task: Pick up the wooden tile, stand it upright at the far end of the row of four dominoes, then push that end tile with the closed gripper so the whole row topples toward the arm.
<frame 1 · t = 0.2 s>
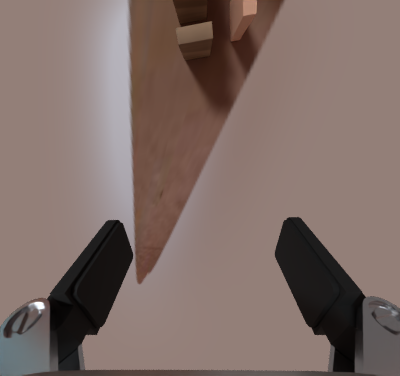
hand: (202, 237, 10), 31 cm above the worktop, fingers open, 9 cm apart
end tile: (234, 23, 27), on the worktop
domino 3: (192, 15, 27), on the worktop
domino 2: (196, 52, 29), on the worktop
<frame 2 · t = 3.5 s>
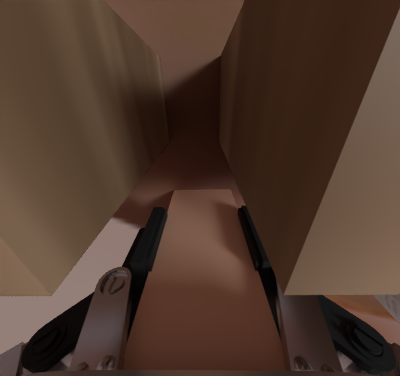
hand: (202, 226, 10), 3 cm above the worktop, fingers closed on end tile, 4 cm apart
end tile: (202, 197, 13), on the worktop, touching gripper
domino 3: (232, 102, 10), on the worktop
domino 2: (152, 104, 10), on the worktop
skincare box: (376, 259, 17), on the worktop
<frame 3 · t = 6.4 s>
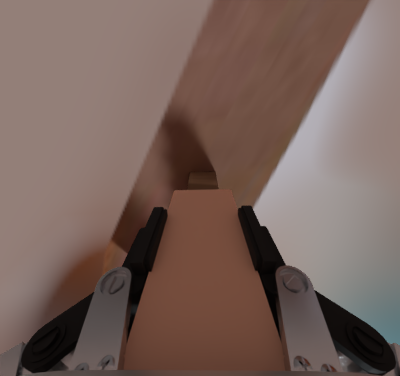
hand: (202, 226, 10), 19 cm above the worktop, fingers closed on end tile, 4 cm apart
end tile: (202, 198, 13), point 16 cm above the worktop, touching gripper
domino 2: (202, 175, 29), on the worktop
when the fingers open (4 cm above the worktop, at t = 9.3 s): end tile stays where it is, on the worktop.
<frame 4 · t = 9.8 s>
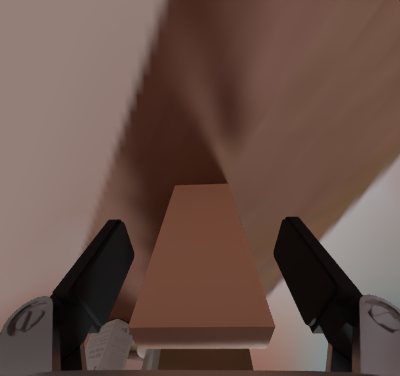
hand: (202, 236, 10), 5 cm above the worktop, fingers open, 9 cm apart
end tile: (201, 192, 14), on the worktop
domino 2: (203, 233, 17), on the worktop
skincare box: (116, 325, 27), on the worktop
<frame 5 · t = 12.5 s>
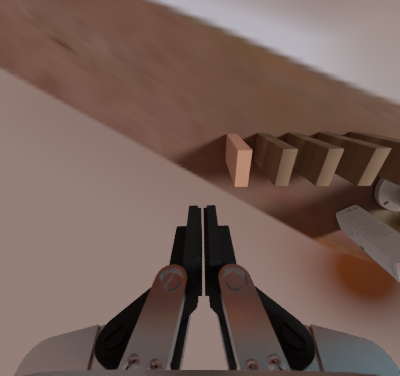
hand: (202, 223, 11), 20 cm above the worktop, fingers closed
end tile: (230, 147, 28), on the worktop
domino 3: (289, 146, 27), on the worktop
domino 5: (349, 146, 27), on the worktop
domino 2: (259, 146, 28), on the worktop
domino 4: (319, 146, 27), on the worktop
skincare box: (348, 216, 34), on the worktop
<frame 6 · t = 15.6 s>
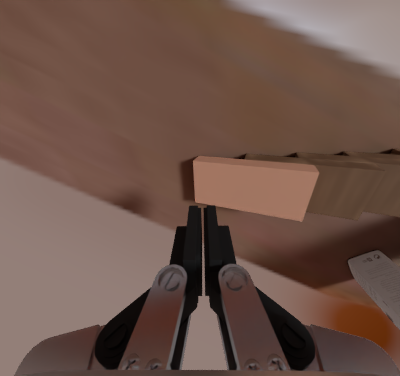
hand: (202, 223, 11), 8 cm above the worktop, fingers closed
end tile: (197, 179, 17), point 1 cm above the worktop, tilted 70°, touching domino 2
domino 3: (291, 176, 16), point 1 cm above the worktop, tilted 70°, touching domino 2, domino 4
domino 2: (243, 177, 16), point 1 cm above the worktop, tilted 70°, touching domino 3, end tile
skincare box: (365, 263, 24), on the worktop
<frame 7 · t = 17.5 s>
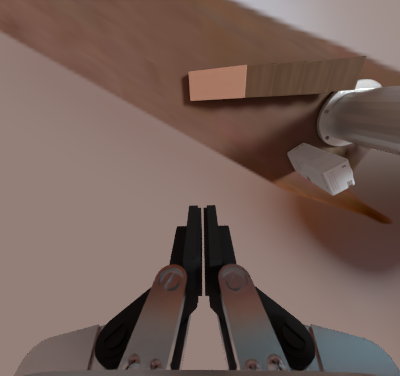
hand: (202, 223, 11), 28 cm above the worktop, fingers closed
end tile: (191, 87, 30), point 1 cm above the worktop, tilted 70°, touching domino 2
domino 3: (242, 84, 30), point 1 cm above the worktop, tilted 70°, touching domino 2, domino 4
domino 5: (291, 80, 30), point 1 cm above the worktop, tilted 70°, touching arm, domino 4
domino 2: (216, 85, 30), point 1 cm above the worktop, tilted 70°, touching domino 3, end tile
domino 4: (266, 82, 30), point 1 cm above the worktop, tilted 70°, touching domino 3, domino 5
skincare box: (299, 156, 38), on the worktop
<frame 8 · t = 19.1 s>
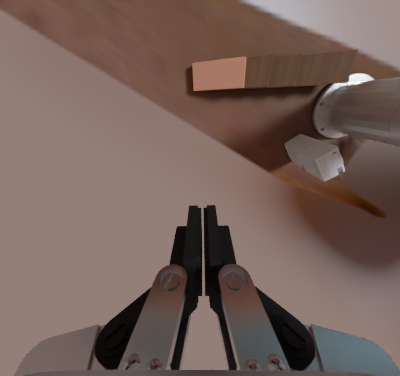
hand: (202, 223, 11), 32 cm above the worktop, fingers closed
end tile: (194, 77, 33), point 1 cm above the worktop, tilted 70°, touching domino 2
domino 3: (242, 75, 32), point 1 cm above the worktop, tilted 70°, touching domino 2, domino 4
domino 5: (288, 73, 32), point 1 cm above the worktop, tilted 70°, touching arm, domino 4
domino 2: (217, 76, 33), point 1 cm above the worktop, tilted 70°, touching domino 3, end tile
domino 4: (265, 75, 32), point 1 cm above the worktop, tilted 70°, touching domino 3, domino 5
skincare box: (296, 147, 40), on the worktop
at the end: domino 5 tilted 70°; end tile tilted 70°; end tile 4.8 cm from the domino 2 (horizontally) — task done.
